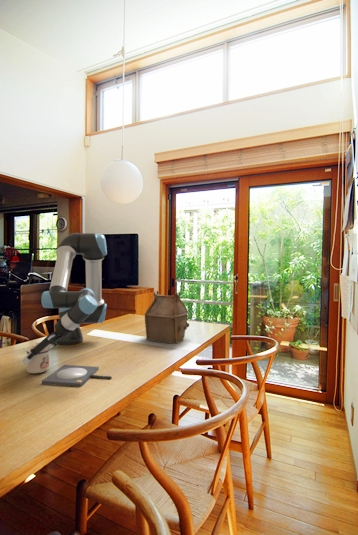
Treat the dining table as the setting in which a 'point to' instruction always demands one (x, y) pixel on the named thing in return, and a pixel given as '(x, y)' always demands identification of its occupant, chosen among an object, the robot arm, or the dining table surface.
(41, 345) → the robot arm
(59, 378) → the warming pad
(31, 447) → the dining table surface
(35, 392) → the dining table surface
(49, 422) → the dining table surface
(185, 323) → the hut
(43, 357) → the teacup with lid
